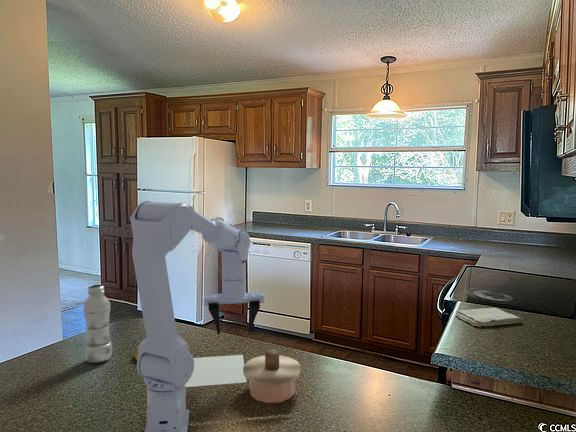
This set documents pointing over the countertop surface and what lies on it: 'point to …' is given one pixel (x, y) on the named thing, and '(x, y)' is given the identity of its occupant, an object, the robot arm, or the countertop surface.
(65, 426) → the countertop surface
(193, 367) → the robot arm
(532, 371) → the countertop surface
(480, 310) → the washcloth
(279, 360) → the lid
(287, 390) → the bowl
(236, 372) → the mat
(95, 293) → the plastic bottle
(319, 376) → the countertop surface
